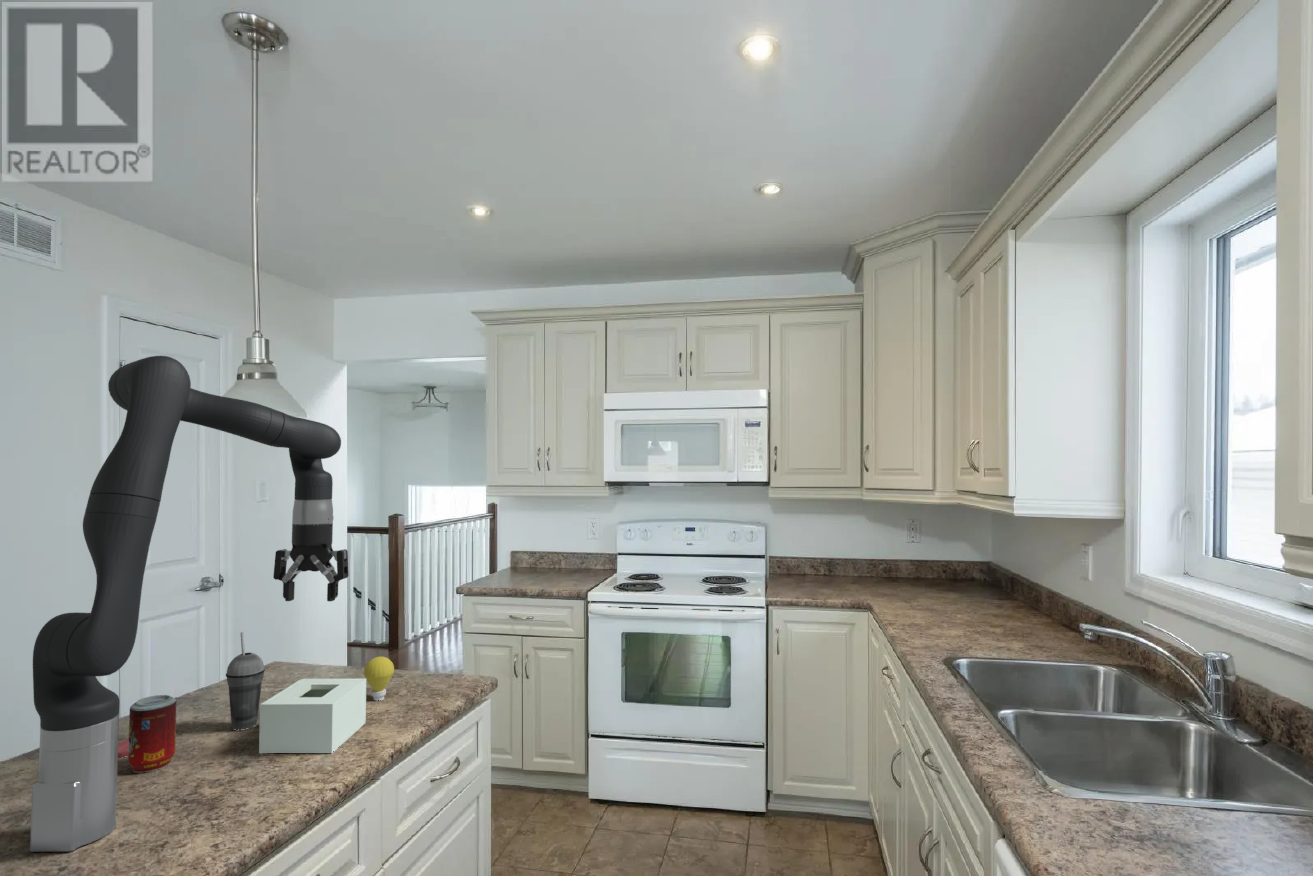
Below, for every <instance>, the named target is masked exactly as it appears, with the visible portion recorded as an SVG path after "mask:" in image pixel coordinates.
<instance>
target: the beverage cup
mask: <svg viewBox="0 0 1313 876" xmlns="http://www.w3.org/2000/svg"><path fill="white" fill-rule="evenodd" d="M244 638H245V637H244V632H243V631H241V632H240V644H241V653H240V654H238V655H236V656H235V657H234V658H233V659H232V660H231V661H230V662H229V664H228V665H227V668H226V673H225V677H226V681H227V686H228V695H229V697H228V698H229V709H230V710H229V711H230V722H231V723H230V724H231V729H232V728H233V729H236V730H238V729H239V730H241V729H246V728H251V727H253V726H254V725H256V723H258V719H259V712H260V704H261V703H260V701H261V694H262V693H261V692H262V684H263V680H264V677H265V671H266V669H265V664H264V661H263V659H262V658H261V657H260V655H258V654H256V653H254V652H245V639H244ZM256 726H257V725H256ZM251 729H252V728H251Z"/></svg>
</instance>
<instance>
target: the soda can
mask: <svg viewBox="0 0 1313 876" xmlns="http://www.w3.org/2000/svg"><path fill="white" fill-rule="evenodd" d="M128 717H129V724H128V738H129V752H128V757H127V760H128V761H127V762H128V764H129V766H130V767H131V768H132V772H134V773H137V774H143V773H142V772H146V773H151V771H152V772H155V771H154V770H156V769H159V770H162V769H164V768H166V767H167V766H166V765H168V766H169V765H170V764H171V761H172V759H173V757H174V755H175V753H176V728H177V727H176V726H177V699H176V698H175V697H174V696H171V695H168V694H161V695H160V694H159V695H152V696H150V695H149V696H147V697H143V698H141V699H138V700H137V701H136V702H134V703H133V704H132V705H130V707H129V716H128ZM165 766H166V767H165ZM161 768H162V769H161ZM156 771H157V770H156Z"/></svg>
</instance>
